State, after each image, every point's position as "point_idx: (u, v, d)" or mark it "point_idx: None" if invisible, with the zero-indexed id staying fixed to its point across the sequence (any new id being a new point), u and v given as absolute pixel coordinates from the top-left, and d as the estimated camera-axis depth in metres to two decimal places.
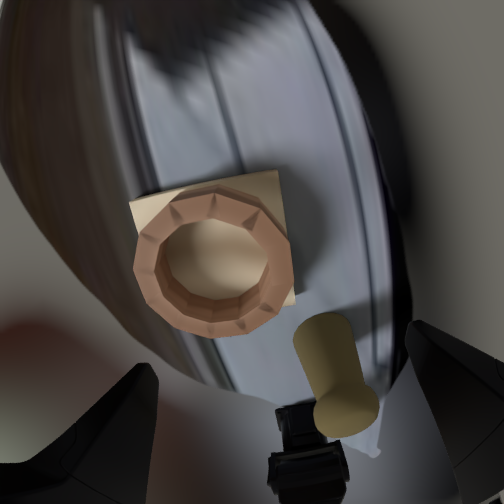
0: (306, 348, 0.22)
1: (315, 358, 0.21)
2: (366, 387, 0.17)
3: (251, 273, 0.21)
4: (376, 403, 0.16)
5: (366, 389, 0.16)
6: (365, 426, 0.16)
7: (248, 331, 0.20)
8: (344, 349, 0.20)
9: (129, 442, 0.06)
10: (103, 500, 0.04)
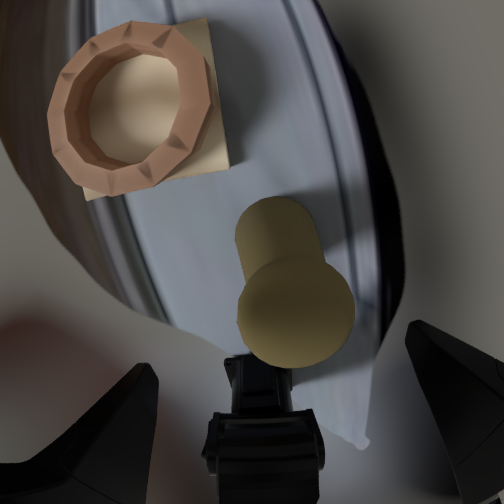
0: (244, 233, 0.17)
1: (252, 238, 0.15)
2: (327, 263, 0.11)
3: (173, 124, 0.15)
4: (346, 290, 0.10)
5: (326, 264, 0.11)
6: (330, 341, 0.10)
7: (155, 181, 0.14)
8: (295, 226, 0.15)
9: (129, 442, 0.06)
10: (103, 499, 0.04)
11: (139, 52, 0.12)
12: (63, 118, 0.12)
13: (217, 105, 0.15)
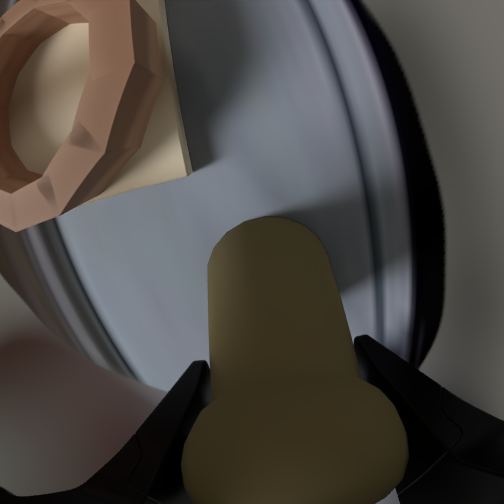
0: (213, 284, 0.10)
1: (222, 301, 0.08)
2: (366, 390, 0.04)
3: None
4: (402, 449, 0.03)
5: (366, 398, 0.04)
6: None
7: (60, 206, 0.07)
8: (300, 278, 0.08)
9: None
10: None
11: (63, 21, 0.06)
12: None
13: (165, 75, 0.08)
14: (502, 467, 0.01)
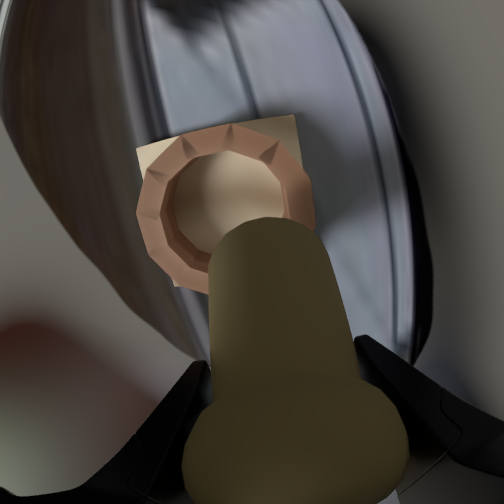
0: (214, 284, 0.10)
1: (223, 301, 0.08)
2: (367, 391, 0.04)
3: None
4: (403, 450, 0.03)
5: (367, 398, 0.04)
6: None
7: None
8: (301, 278, 0.08)
9: None
10: None
11: None
12: (159, 222, 0.16)
13: None
14: (502, 467, 0.01)
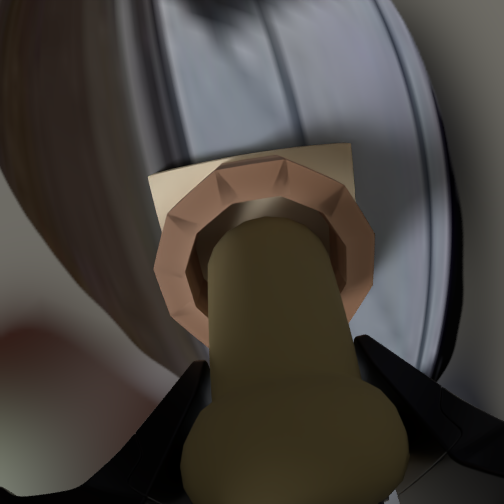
0: (213, 284, 0.10)
1: (222, 300, 0.08)
2: (367, 391, 0.04)
3: None
4: (403, 450, 0.03)
5: (367, 398, 0.04)
6: None
7: None
8: (300, 278, 0.08)
9: None
10: None
11: None
12: (185, 281, 0.13)
13: None
14: (502, 467, 0.01)
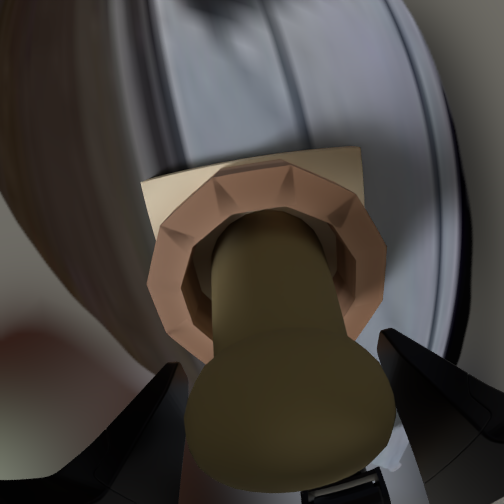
0: (217, 268, 0.11)
1: (225, 278, 0.10)
2: (351, 342, 0.05)
3: None
4: (387, 399, 0.04)
5: (351, 347, 0.05)
6: (347, 473, 0.04)
7: None
8: (294, 258, 0.09)
9: (164, 446, 0.06)
10: None
11: None
12: (181, 297, 0.12)
13: None
14: None
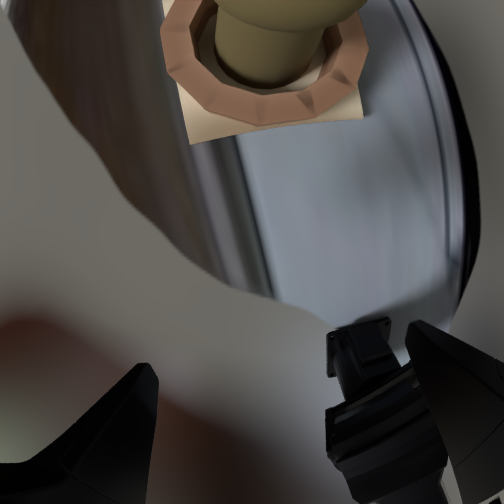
0: None
1: None
2: None
3: None
4: None
5: None
6: None
7: (317, 112, 0.12)
8: None
9: (129, 442, 0.06)
10: (103, 500, 0.04)
11: None
12: (188, 34, 0.10)
13: None
14: None
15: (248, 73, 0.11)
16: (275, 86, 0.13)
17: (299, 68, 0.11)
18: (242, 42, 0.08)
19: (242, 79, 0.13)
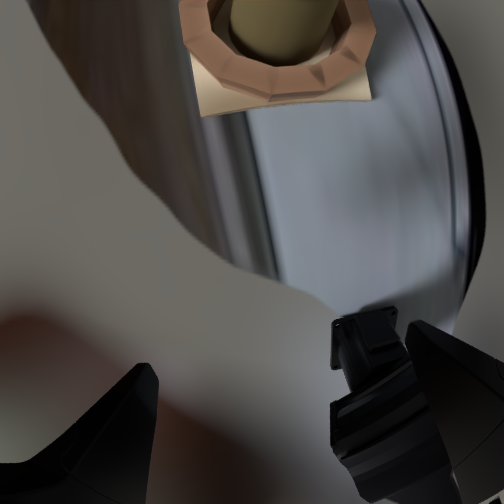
0: None
1: None
2: None
3: None
4: None
5: None
6: None
7: (328, 85, 0.11)
8: None
9: (129, 442, 0.06)
10: (103, 499, 0.04)
11: None
12: (205, 10, 0.10)
13: None
14: None
15: (261, 47, 0.11)
16: (286, 64, 0.13)
17: (310, 45, 0.11)
18: (259, 13, 0.08)
19: (255, 55, 0.12)
